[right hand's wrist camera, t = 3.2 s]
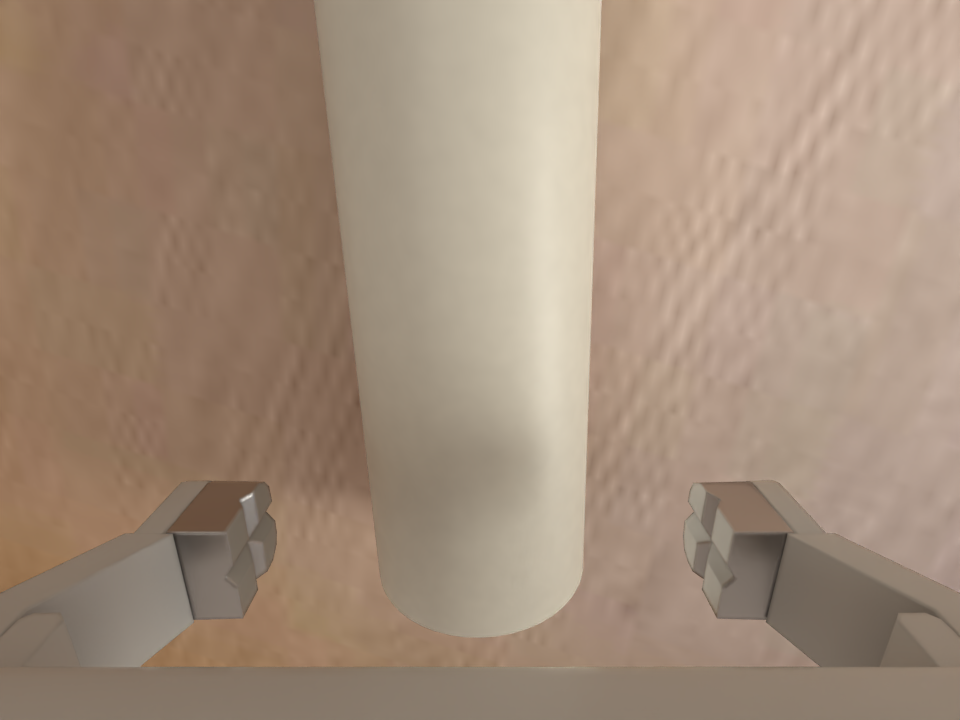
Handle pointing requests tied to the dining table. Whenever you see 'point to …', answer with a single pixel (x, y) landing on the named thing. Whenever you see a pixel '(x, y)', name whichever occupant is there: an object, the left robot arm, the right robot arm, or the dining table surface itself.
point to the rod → (469, 292)
